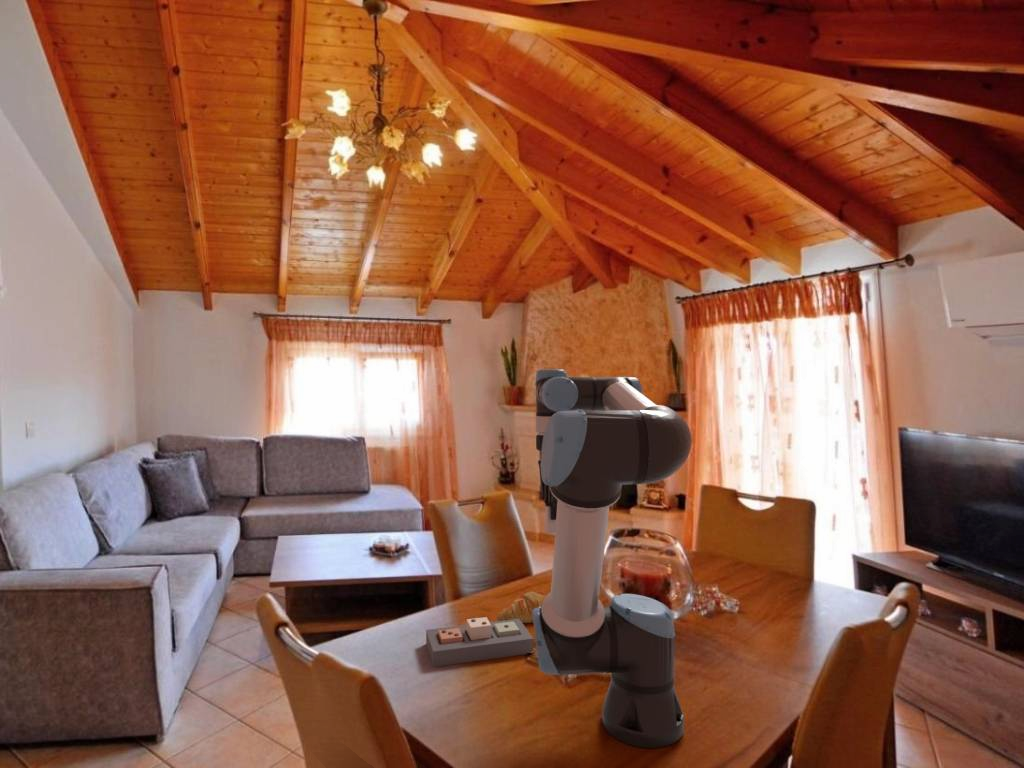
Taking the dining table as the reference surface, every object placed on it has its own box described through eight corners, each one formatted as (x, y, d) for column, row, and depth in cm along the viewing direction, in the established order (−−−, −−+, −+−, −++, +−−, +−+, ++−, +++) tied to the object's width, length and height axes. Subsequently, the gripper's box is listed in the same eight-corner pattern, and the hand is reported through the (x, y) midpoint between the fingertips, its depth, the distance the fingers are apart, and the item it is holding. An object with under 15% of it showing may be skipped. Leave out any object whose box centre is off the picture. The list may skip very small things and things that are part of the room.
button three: (462, 649, 138) (462, 635, 138) (441, 651, 137) (441, 638, 137) (458, 640, 143) (458, 627, 143) (438, 642, 142) (438, 629, 142)
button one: (519, 641, 142) (519, 628, 142) (499, 644, 141) (499, 631, 141) (513, 633, 147) (513, 620, 147) (494, 635, 146) (494, 622, 146)
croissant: (502, 641, 154) (509, 619, 151) (486, 612, 161) (492, 590, 158) (567, 622, 165) (575, 602, 161) (549, 595, 172) (556, 575, 169)
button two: (491, 637, 140) (491, 624, 140) (470, 640, 139) (470, 626, 139) (486, 629, 145) (486, 616, 145) (466, 631, 144) (466, 618, 144)
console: (533, 653, 140) (533, 638, 140) (433, 666, 133) (433, 651, 133) (519, 632, 151) (519, 618, 151) (426, 643, 145) (426, 629, 144)
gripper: (577, 435, 135) (577, 538, 134) (556, 431, 147) (556, 525, 147) (546, 436, 132) (546, 540, 132) (528, 432, 145) (528, 527, 145)
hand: (551, 532), depth 140 cm, fingers closed
